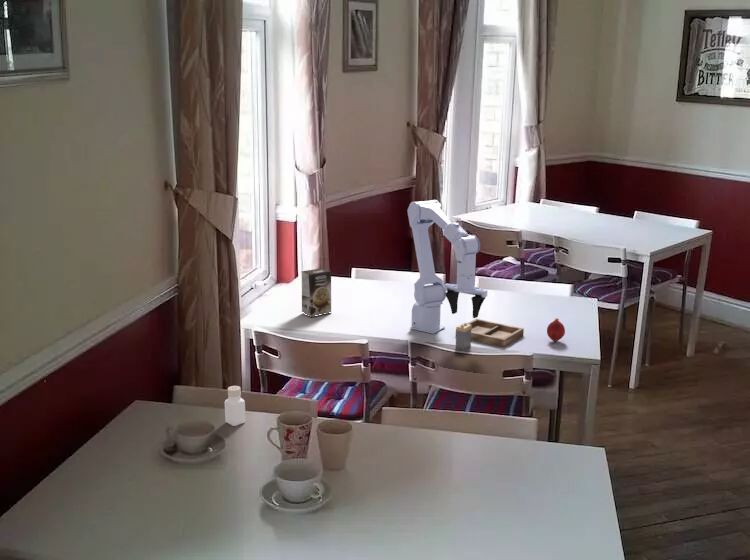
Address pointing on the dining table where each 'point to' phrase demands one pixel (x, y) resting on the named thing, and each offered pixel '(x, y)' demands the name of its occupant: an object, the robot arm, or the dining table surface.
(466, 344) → the battery cell
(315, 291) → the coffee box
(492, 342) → the walnut tray
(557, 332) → the onion
